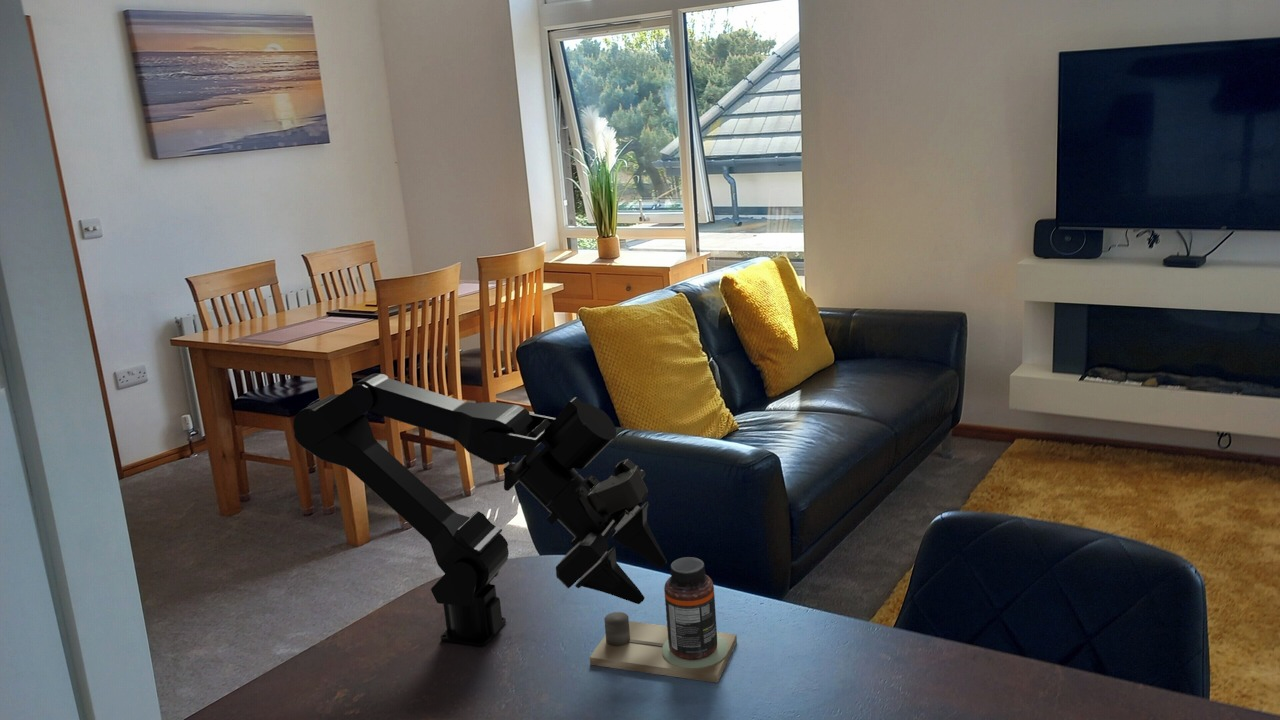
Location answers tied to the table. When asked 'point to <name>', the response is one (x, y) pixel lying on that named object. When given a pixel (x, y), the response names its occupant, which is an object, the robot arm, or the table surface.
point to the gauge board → (648, 650)
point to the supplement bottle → (690, 610)
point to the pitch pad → (701, 663)
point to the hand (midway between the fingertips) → (653, 582)
